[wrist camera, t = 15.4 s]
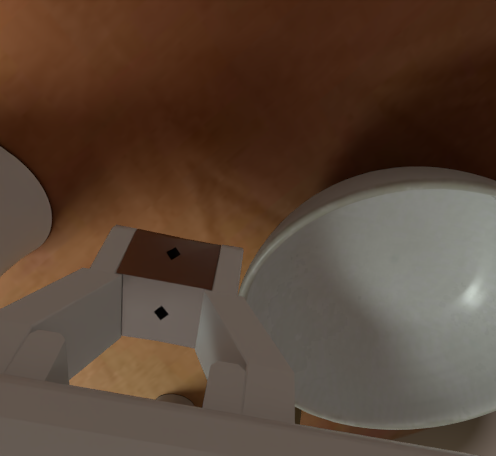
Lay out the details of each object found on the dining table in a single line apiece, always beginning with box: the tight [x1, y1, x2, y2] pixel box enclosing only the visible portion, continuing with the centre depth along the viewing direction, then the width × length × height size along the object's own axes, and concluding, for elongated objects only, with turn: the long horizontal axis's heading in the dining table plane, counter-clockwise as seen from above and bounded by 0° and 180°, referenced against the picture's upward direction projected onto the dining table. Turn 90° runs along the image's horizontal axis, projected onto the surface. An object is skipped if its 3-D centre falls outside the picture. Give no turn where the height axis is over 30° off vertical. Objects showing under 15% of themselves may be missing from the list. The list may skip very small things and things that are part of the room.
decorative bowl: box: [238, 167, 496, 430], centre depth 41 cm, size 27×27×12 cm
